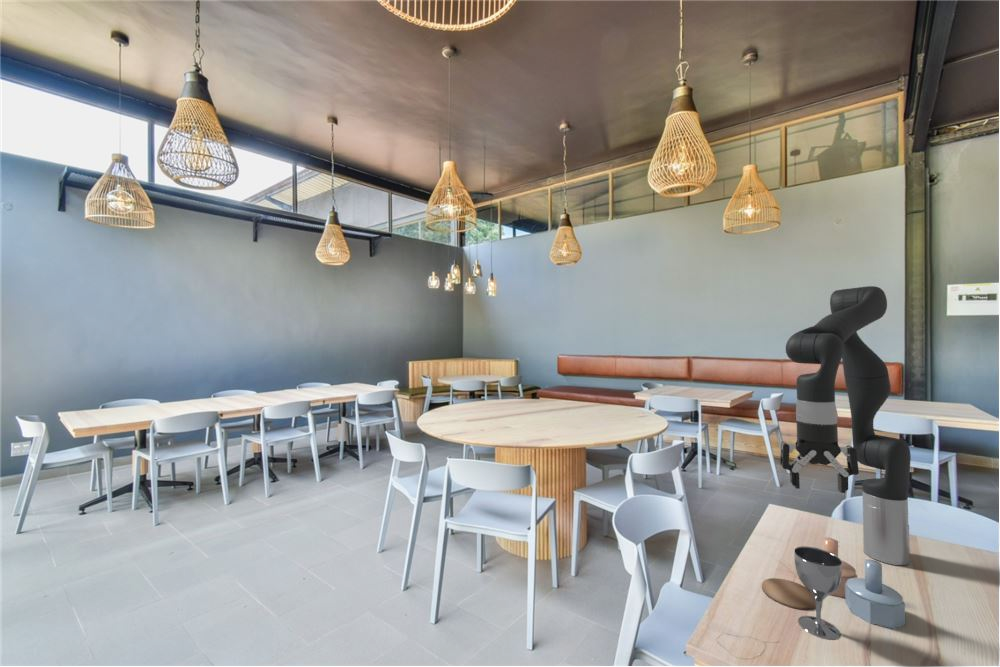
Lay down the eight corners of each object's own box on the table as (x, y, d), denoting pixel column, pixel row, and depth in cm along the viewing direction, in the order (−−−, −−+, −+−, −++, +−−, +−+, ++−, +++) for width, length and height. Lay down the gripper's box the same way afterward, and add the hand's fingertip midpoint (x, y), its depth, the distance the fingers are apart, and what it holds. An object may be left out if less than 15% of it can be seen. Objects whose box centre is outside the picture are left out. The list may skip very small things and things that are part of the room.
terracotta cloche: (824, 571, 107) (823, 529, 107) (865, 592, 98) (864, 545, 98) (799, 579, 104) (798, 534, 104) (839, 600, 95) (838, 552, 95)
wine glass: (852, 643, 82) (851, 568, 82) (807, 638, 84) (806, 564, 84) (829, 617, 90) (827, 548, 90) (788, 612, 92) (787, 544, 92)
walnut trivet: (783, 577, 105) (783, 574, 105) (830, 603, 95) (830, 600, 95) (751, 585, 101) (751, 583, 101) (795, 614, 91) (795, 611, 91)
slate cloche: (863, 596, 97) (863, 549, 97) (913, 621, 88) (912, 569, 88) (837, 604, 94) (836, 556, 94) (885, 632, 85) (884, 578, 85)
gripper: (848, 417, 96) (850, 487, 96) (776, 415, 102) (778, 480, 102) (861, 424, 89) (864, 499, 89) (783, 421, 95) (786, 491, 95)
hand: (818, 489), depth 95 cm, fingers open, 8 cm apart
